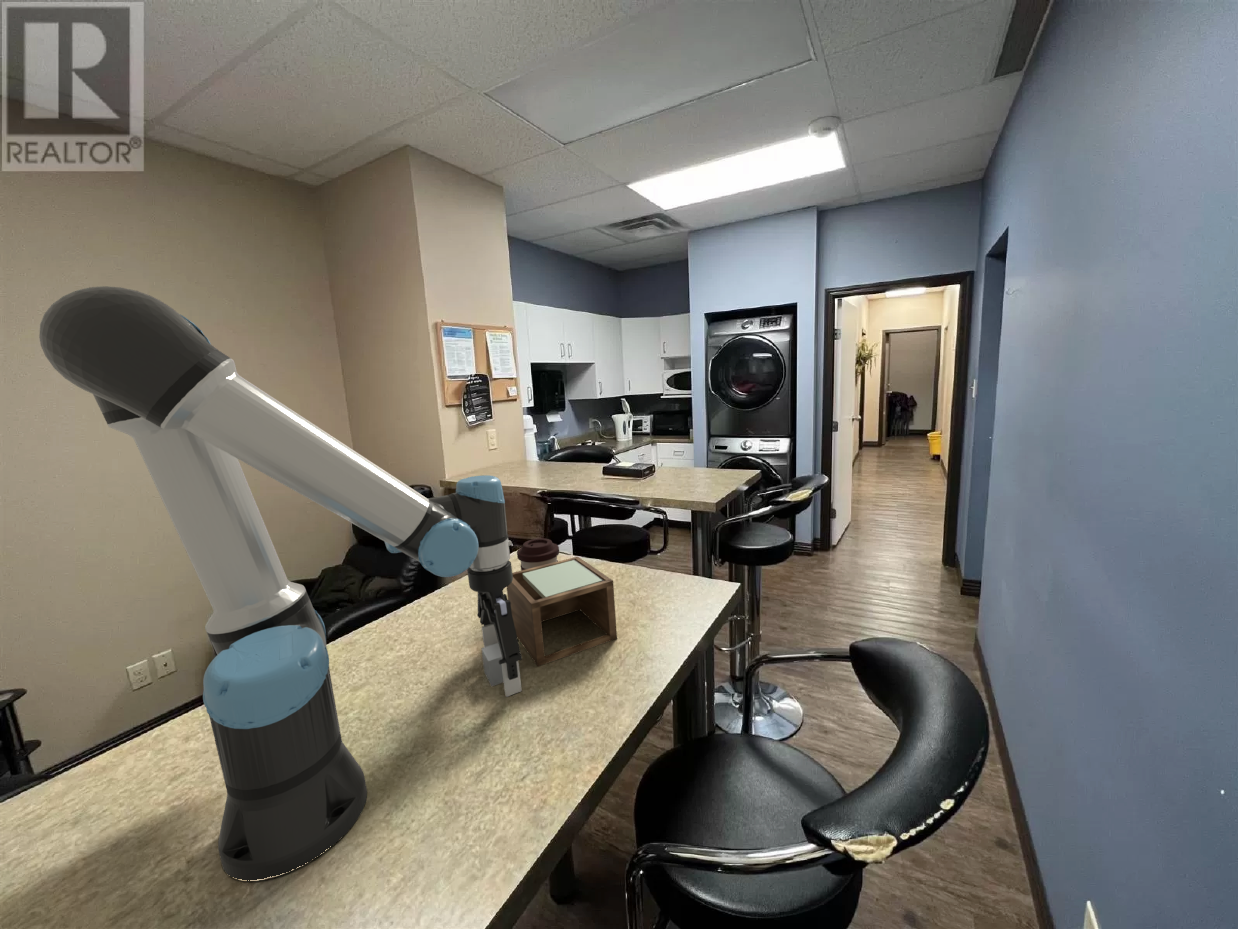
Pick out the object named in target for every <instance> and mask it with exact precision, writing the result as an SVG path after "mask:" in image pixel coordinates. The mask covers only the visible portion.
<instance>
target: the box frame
mask: <svg viewBox="0 0 1238 929" xmlns="http://www.w3.org/2000/svg"><path fill="white" fill-rule="evenodd" d="M572 560H575V561H577V562H578V563H580V564H581V565H582V566H584V567H585V568H587V569H588V570H589V571H591V572H592V573H594V574H595V575H597V576H598V577H599V578H601V579H602V580H604V581H602V582H599V583H595V584H592V585H588V586H585V587H581V588H578V589H574V590H570V591H567V592H563V593H560V594H556V595H553V596H549V597H546V598H542V597H541V596H540V595H539V594H538V593H537V592H536V591H535V590H534V589H533V588H532V587H531V586H530V585H529V584H528V583H527V582H526V581H525V580H524V579H523V573H527V572H530V571H534V570H538V569H542V568H546V567H549V566H553V565H557V564H561V563H565V562H568V561H572ZM512 575H513V580H512V582H511V584H510V585H508V586H507V587H506V596H507V599H508V600H509V601H510V602H511V611H512V617H513V621H514V625H515V630H516V634H517V639H518V642H520V643H521V645H522V647H523V648H524V649H525V650H526V652H527V653H528V654H529V656H530V658H531V659H532V660H533V662H534V663H535V665H536V666H537V667H540V666H543V665H547V664H549V663H551V662H555V661H557V660H560V659H563V658H566V657H568V656H571V655H574V654H576V653H577V654H578V653H580V652H582V651H586V650H589V649H591V648H594V647H596V646H599V645H603V644H606V643H608V642H610V641H611V642H612V641H613V640H617V639H618V634H617V633H618V632H617V620H616V619H617V616H616V604H615V601H616V600H615V588H614V587H615V586H614V580H613V579H612V578H610V577H609V576H607V575H605V573H602V572H601V571H600V570H598V569H597V568H595V567H594V566H593V565H591V564H590V563H588V562H587V561H586V560H584V559H582V558H581V557H579V556H574V557H570V558H566V559H563V560H558V562H554V563H550V564H546V565H542V566H538V567H534V568H530V569H526V570H522V571H521V570H518V571H514V572H512ZM578 611H581V612H582V613H583V615H584V616H586V617H587V618H588V619H589V620H590V621H591V622H592V623H593V624H594V625H595V626H597V627H598V629H600V630H601V631H602V632H603V633H604V634H603V635H601V636H599V637H595V638H592V639H590V640H587V641H586V640H585V641H584V642H582V643H578V644H575V645H572V646H569V647H566V648H564V649H561V650H558V651H555V652H552V653H550V654H546V655H545V647H544V646H545V645H544V637H543V634H544V633H543V628H542V627H543V626H542V622H544V621H545V622H546V621H548V620H552V619H554V618H558V617H562V616H564V615H565V616H566V615H567V614H571V613H575V612H578Z"/></svg>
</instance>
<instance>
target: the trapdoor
mask: <svg viewBox="0 0 1238 929" xmlns="http://www.w3.org/2000/svg"><path fill="white" fill-rule="evenodd" d="M523 579H524V580H525V581H526V582H527V583H528V584H529V585H530V586H531V587H532V588H533V589H534V590H535V591H536V592H537V593H538V594H539V595H540V596H541V597H542V598H546V597H549V596H553V595H556V594H560V593H563V592H567V591H570V590H574V589H578V588H581V587H585V586H588V585H592V584H595V583H599V582H602V581H604V580H602V579H601V578H599V577H598V576H597V575H595V574H594V573H592V572H591V571H589V570H588V569H587V568H585V567H584V566H582V565H581V564H580V563H578V562H577V561H575V560H572V561H568V562H565V563H561V564H557V565H553V566H549V567H546V568H542V569H538V570H534V571H530V572H527V573H523Z"/></svg>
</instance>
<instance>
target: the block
mask: <svg viewBox="0 0 1238 929" xmlns="http://www.w3.org/2000/svg"><path fill="white" fill-rule="evenodd" d="M481 656H482V665H483V673H484V675H485V677H486V678H487V681H488V682H489V684H490V686H491V687H494V686H497V685H500V684H504V681H503V673H502V665H501V664H499V660H501V659H502V655H501V651H500V647H499V643H496V644H493V645H490V646H487V647H484V646H483V647H481Z"/></svg>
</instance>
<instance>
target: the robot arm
mask: <svg viewBox="0 0 1238 929" xmlns="http://www.w3.org/2000/svg"><path fill="white" fill-rule="evenodd" d="M38 336H39V342H40V347H41V349H42V351H43V353H44V356H45V358H46V359H47V360H48V362H49V363H50V364H51V366H52V368H53V369H54V370H55V371H56V372H58V373H59V374H60V375H61V376H62V377H63V378H64V379H65V380H67V381H68V382H70V383H72V385H75V386H76V387H78V388H79V389H81V390H83V391H85V392H88V393H90V394H92V395H93V397H94V400H95V401H96V404H97V406H98V407H99V409H100V412H101V414H102V415H103V418H104V420H105V422H106V424H107V426H108V428H110V429H113V430H116V431H118V432H120V433H123V434H126V435H127V436H129V437H131V438H132V439H133V440H134V442H135V445H136V447H137V449H138V451H139V453H140V455H141V457H142V460H143V462H144V464H145V466H146V468H147V470H148V472H149V475H150V477H151V479H152V481H153V484H154V486H155V488H156V490H157V492H158V495H159V496H160V498H161V500H162V502H163V504H164V507H165V510H166V511H167V513H168V515H169V518H170V520H171V522H172V524H173V527H174V528H175V530H176V533H177V534H178V537H179V540H180V541H181V543H182V546H183V548H184V549H185V551H186V554H187V556H188V558H189V561H190V563H191V565H192V567H193V569H194V571H195V573H196V576H197V578H198V580H199V582H200V584H201V586H202V588H203V590H204V592H205V595H206V598H207V599H208V602H209V604H210V605H211V608H212V610H213V612H212V614H211V615H210V617H209V619H208V621H207V622H206V624H205V627H204V628H205V629H204V630H205V632H206V634H207V636H208V638H209V640H210V642H211V644H212V647H213V649H214V651H215V653H216V655H215V657H213V659H212V660H211V662H210V663H209V664H208V666H207V667H206V670H205V672H204V675H203V684H202V686H203V693H202V700H203V705H204V707H205V709H206V714H208V716H209V721H210V726H211V730H212V733H213V739H214V741H215V746H216V751H217V755H218V760H219V762H220V763H219V764H220V767H221V772H222V776H223V780H224V785H225V788H226V793H227V794H226V799H225V800H226V801H225V804H224V810H223V815H222V821H221V825H220V830H219V836H218V848H217V849H218V854H219V858H220V863H221V866H223V867H222V869H223V871H224V870H225V871H224V873H225V872H226V873H227V874H228V875H230V876H231V877H234V878H237V879H242V880H247V881H248V880H249V881H250V880H257V879H264V878H267V877H270V876H271V877H272V876H276V875H280V874H282V873H286V872H289V871H291V870H292V869H296V868H297V867H299V866H302V865H304V866H306V865H305V863H307V862H310V861H311V860H312V859H314V858H315V857H317V856H319V855H320V854H321V853H323V852H325V850H326V849H328V848H330V846H332V845H333V844H335V843H336V842H337V841H338V842H339V841H340V840H341V839H342V838H343V837H344V836H346V834H347V833H348V832H349V831H350V830H351V829H352V827H353V826H354V825H355V824H356V822H357V821H358V819H359V818H360V816H361V814H362V813H363V809H364V808H365V806H364V805H366V803H367V797H368V788H367V784H366V778H365V773H364V771H363V769H362V767H361V765H360V764H359V763H358V761H357V760H356V758H355V757H354V756H353V754H352V753H351V752H350V750H349V749H348V748H347V747H346V745H345V743H344V742H343V739H342V735H341V729H340V728H341V727H340V723H339V722H340V721H339V717H338V710H337V707H336V701H335V694H334V690H333V682H332V676H331V671H330V657H329V652H328V648H327V636H326V635H327V633H326V626H325V623H324V621H323V618H322V617H321V615H320V614H319V613H318V611H317V610H315V608H314V607H313V604H312V602H311V599H310V596H309V594H308V592H307V589H306V587H305V586H304V585H303V584H301V583H297V582H293V581H290V580H289V579H288V578H287V575H286V573H285V570H284V567H283V565H282V562H281V560H280V558H279V555H278V553H277V550H276V548H275V546H274V543H273V541H272V539H271V536H270V533H269V531H268V529H267V526H266V523H265V521H264V518H263V517H262V516H263V515H261V512H260V509H259V507H258V505H257V502H256V500H255V498H254V495H253V493H252V490H251V488H250V485H249V483H248V480H247V478H246V476H245V474H244V473H245V472H244V470H243V468H242V465H241V463H240V461H241V462H243V463H244V464H247V465H248V466H250V467H252V469H255V470H257V471H258V472H261V473H262V474H263V475H266V476H267V477H270V478H271V479H273V480H275V481H276V482H278V483H280V484H282V485H283V486H286V487H288V488H289V489H290V490H292V491H294V492H296V493H298V494H299V495H301V496H303V497H305V498H307V499H309V500H311V501H312V502H314V503H315V504H317V505H319V506H321V507H323V508H324V509H326V510H327V511H329V512H331V513H334V514H335V515H337V516H338V517H341V518H342V519H344V520H346V521H347V522H349V523H351V524H353V525H355V526H357V527H358V528H359V529H362V531H363V530H364V532H367V533H369V534H371V535H372V536H374V537H376V538H378V539H379V540H381V541H383V542H384V544H385V547H386V550H387V551H388V552H389V553H391V554H398V553H403V554H405V555H406V556H408V557H410V558H412V559H413V560H415V561H417V562H419V563H420V564H421V566H422V567H423V568H424V569H425V570H426V571H428V572H430V573H431V574H433V575H435V576H438V577H442V578H451V577H455V576H458V575H461V574H462V573H464V572H466V571H467V577H468V578H467V579H468V586H469V588H470V589H471V591H474V592H476V593H477V617H478V619H480V620H479V623H480V625H481V633H482V640H483V648H484V647H487V646H490V645H493V644H496V643H499V647H500V651H501V655H502V659H501V660H499V664H501V665H502V673H503V681H504V682H503V690H504V695H505V697H507V698H508V697H510V696H512V695H516V694H517V693H520V692H522V682H521V674H520V664H519V661H522V659H523V656H522V653H521V649H520V644H519V639H518V638H517V634H516V630H515V625H514V621H513V617H512V611H511V602H510V601H509V600H508V595H507V593H504V589H505V588H507V586H508V585H510V584H511V582H512V580H513V575H512V573H513V567H512V566H513V565H512V562H511V561H510V559H511V554H510V547H511V545H512V544H513V543H512V542H513V541H511V540H509V535H508V527H507V515H506V504H505V503H506V500H505V496H504V490H503V486H502V481H501V479H500V478H498V477H497V476H494V475H487V474H486V475H475V476H468V477H466V478H465V477H464V478H462V479H459V480H458V481H456V484H455V487H456V489H455V492H453V493H452V492H451V493H450V494H447V495H441V496H435V497H430V498H427V497H425V496H424V495H422V494H421V493H419V492H418V491H417V490H415V489H413V488H412V487H410V486H409V485H408V484H406V483H404V482H403V481H401V480H400V479H398V477H395V476H394V475H392V474H390V472H388V471H386V470H384V468H382V467H380V466H378V465H377V464H375V463H374V462H372V461H371V460H370V459H368V458H366V456H363V455H362V454H360V453H359V452H357V451H356V450H354V449H353V448H351V447H350V446H348V445H346V444H345V443H343V442H342V441H340V440H339V439H337V438H335V437H334V436H332V435H331V434H329V432H327V431H325V430H323V429H322V428H321V427H319V426H318V425H317V424H314V423H313V422H311V421H310V420H308V419H307V418H305V417H304V416H302V415H300V414H299V413H298V412H296V411H294V410H293V409H291V408H290V407H288V406H287V405H285V404H284V403H283V402H281V401H279V400H278V399H276V398H275V397H273V396H272V395H270V394H269V393H267V392H266V391H264V390H263V389H261V388H259V387H258V386H256V385H255V384H254V383H252V382H250V381H249V380H247V379H245V378H244V377H243V376H241V375H240V374H239V373H238V370H237V368H236V367H237V366H236V363H235V360H234V359H232V358H231V357H230V356H229V355H227V354H226V353H224V352H222V351H220V350H219V349H218V348H217V347H216V346H214V345H212V344H211V342H210V340H209V338H208V337H207V336H206V335H205V334H204V333H203V331H202V329H200V328H199V327H198V326H197V325H196V324H195V323H194V322H192V321H191V320H189V319H188V318H187V317H185V316H184V315H182V314H180V313H179V312H177V311H176V310H175V309H174V308H172V307H171V306H169V305H168V304H167V303H164V301H162V300H160V299H158V298H156V297H154V296H152V295H149V294H148V293H147V294H146V293H144V292H141V291H139V290H135V289H130V288H125V287H120V286H119V287H118V286H103V285H102V286H90V287H86V288H85V287H84V288H81V289H78V290H74V291H72V292H69V293H68V294H65V295H63V296H61V297H60V298H59V299H57V300H56V301H54V302H53V303H52V304H51V305H50V306H49V308H48V309H47V310H46V311H45V312H44V314H43V317H42V318H41V321H40V324H39V335H38ZM356 820H357V821H356ZM350 828H351V829H350ZM349 829H350V830H349ZM343 835H344V836H343ZM341 837H342V838H341ZM340 838H341V839H340ZM339 839H340V840H339ZM338 842H337V843H338ZM337 843H336V844H337ZM336 844H335V845H336ZM332 847H333V846H332ZM330 849H331V848H330ZM325 853H326V852H325ZM323 854H324V853H323ZM319 857H320V856H319ZM311 862H312V861H311ZM311 862H310V863H311ZM226 873H225V874H226ZM227 874H226V875H227ZM228 875H227V876H228ZM230 876H229V877H230ZM231 877H230V878H231Z"/></svg>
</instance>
